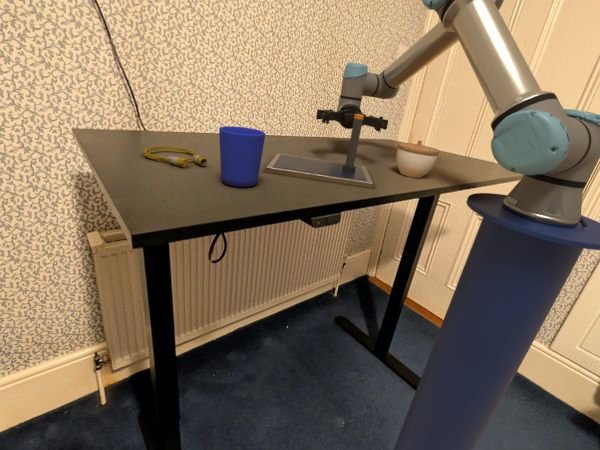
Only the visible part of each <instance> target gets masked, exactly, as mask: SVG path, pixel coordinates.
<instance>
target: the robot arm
mask: <svg viewBox="0 0 600 450" xmlns="http://www.w3.org/2000/svg"><path fill="white" fill-rule="evenodd" d="M421 2H422V4H423V6H424V7H426V8H427V9H428V10H430V11H435V13H436V14H437V16H438V19H439V20H440V21H439V22H438V23H436V25H434V26H433V27H432V28H431V29H430V30H428V31H427V32H426V33H425V34H424V35H423V36H421V37H420V39H418V40H416V42H415V43H414V44H412V45H411V46H410V47H409V48H408V49H406V50H405V52H403V53H402V54H401V55H399V57H398V58H396V59H395V60H394V61H393V62H392V63H391V64H390V65H389V66H387V67H386V68H385V69H383V70H382V71H381V72H380V73H373V72H370V71H368V70H369V67H368V65H367V64H364V63H358V62H348V63H346V64H345V68H344V71H343V75H342V83H341V89H340V95H339V99H338V103H337V104H338V105H337V108H336V111H335V110H334V109H332V108H331V109H317V110H316V117H315V119H316V120H321V123H322V124H326V125H329V124H330V122H336V123H338V124H339V125H340V126H341V127H342V128H344V129H346V130H352V128H353V123H354V116H355V114H361V115H364V118H363V122H362V127H363V126H367V127H369V128H373V129H374V130H375V131H376V132H378V133H379V132H380V133H381V129H382V130H384V131H385V130H387V129H388V125H389V119H385V118H384V116H379V117H377V116H373V115H367V114H366V113H363V112H362V109H361V104H362V101H363V97H369V98H375V99H381V100H391V99H393V98H395V97H396V96H397V94H398V92H399V91H400V87H401V86H402V85H403V84H404V83H406V82H407V81H409V80H410V79H412V77H414V76H415V75H416V74H418V73H419V72H420V71H421V70H423V69H424V68H426V67H427V66H428V65H430V64H431V63H432V62H433V61H434V60H436V59H437V58H438V57H440V56H441V55H443V54H444V53H445V52H446V51H448V50H449V49H450V48H452V47H453V46H455V45H456V44H457V43H460V45H461V48H462V50H463V52H464V55H465V56H466V58H467V60H468V63H469V64H470V66H471V68H472V71H473V73H474V75H475V77H476V79H477V81H478V83H479V85H480V87H481V89H482V92H483V94H484V96H485V97H486V100H487V102H488V104H489V107H490V108H491V111H492V112H493V114H494V116H493V118H492V120H491V122H490V128H491V130H492V132H493V134H492V135H493V136H492V139H491V141H490V149H491V154H492V156H493V158H494V160H495V161H496V162H497V164H499V166H501V167H502V168H503V169H505V170H506V171H509V172H512V173H514V174H520V175H523V176H522V178H521V179H520V180H519V181H518V182H517V184H516V185H514V187H513V188H512V189H511V190H510V192H509V193H508V194H506V195H507V196H506V198H505V199H504V202H503V204H502V207H503V208H504V209H506V210H507V211H509V212H511V213H513V214H515V215H517V216H520V217H522V218H525V219H528V220H531V221H534V222H538V223H542V224H546V225H550V226H556V227H562V228H574V227H577V225H578V223H579V222H580V223H581V225H582V226H583V227H587V226H588V225H587V224H586V223H585V221H584V220H583V218H582V217H581V215H582V207H583V196H584V195H583V193H584V190H585V188H586V186H587V184H588V182H589V181H590V178H591V177H592V175H593V173H594V171H595V168H596V167H597V165H598V163H599V161H600V114H598V113H595V112H591V111H585V110H580V109H573V108H572V109H571V108H564V106H563V105H562V104H561V102H560V100H559V98H558V97H557V95H556V93H555V92H553V91H548V90H542V89H541V87H540V85H539V83H538V81H537V79H536V77H535V76H534V74H533V72H532V70H531V68H530V66H529V64H528V63H527V61H526V59H525V57H524V55H523V53H522V51H521V50H520V47H519V46H518V44H517V42H516V40H515V39H514V37H513V35H512V33H511V31H510V30H509V27H508V24H506V22H505V20H504V18H503V16H502V14H501V12H500V10H501V7H502V5H503V3H504V2H505V0H421Z"/></svg>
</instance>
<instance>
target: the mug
mask: <svg viewBox="0 0 600 450" xmlns="http://www.w3.org/2000/svg"><path fill="white" fill-rule="evenodd" d="M218 133H219V135H218V136H219V154H220V156H219V157H220V175H221V179H222V182H224V183H225V184H226V185H228V186H231V187H235V188H237V187H238V188H249V187H253V186H255V185H256V184H257V182H258V180H259V177H260V170H261V163H262V162H261V161H262V157H263V152H264V145H265V139H266V132H265V131H263V130H260V129H256V128H251V127H244V126H232V125H231V126H220V127H219V129H218Z"/></svg>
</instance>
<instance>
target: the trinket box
mask: <svg viewBox="0 0 600 450" xmlns="http://www.w3.org/2000/svg"><path fill="white" fill-rule="evenodd" d="M422 143H423V140H420V139H419V140H417V143H413V142H411V143H410V142H409V143H408V142H399V143H398V144H397V150H396V153H395V164H396V167H397V169H398V170H399V173H400V174H401V175H403V176H406V177H410V178H414V179H415V178H417V179H421V178H423V177H424V176H426V175H427V174H428V173H430V172H431V171H432V169H433V168H434V166H435V163H436V161H437V158H438V155H439V153H440V150H439V149H437V148H435V147H431V146H428V145H424V144H422Z"/></svg>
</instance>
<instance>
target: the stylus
mask: <svg viewBox="0 0 600 450" xmlns="http://www.w3.org/2000/svg"><path fill="white" fill-rule="evenodd" d="M363 118H364V115H361V114H355V116H354V123H353V128H352V129H351V134H350V139H349V145H348V149H347V155H346V160H345V163H346V164H343V167H342V170H343V171H346V172H355V169H356V166H354V165H355V161H356V157H357V153H358V152H357V151H358V146H359V142H360V136H361V132H362V127H363V126H362V122H363Z"/></svg>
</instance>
